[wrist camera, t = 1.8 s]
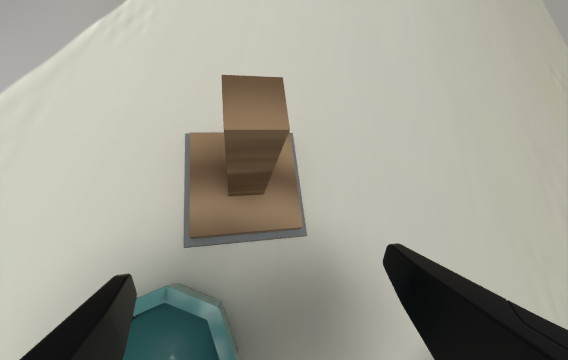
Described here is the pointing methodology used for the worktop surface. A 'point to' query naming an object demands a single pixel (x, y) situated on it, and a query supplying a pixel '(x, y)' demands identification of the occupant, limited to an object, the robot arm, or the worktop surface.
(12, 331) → the worktop surface
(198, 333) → the bowl
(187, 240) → the mat
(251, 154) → the brown upright piece
